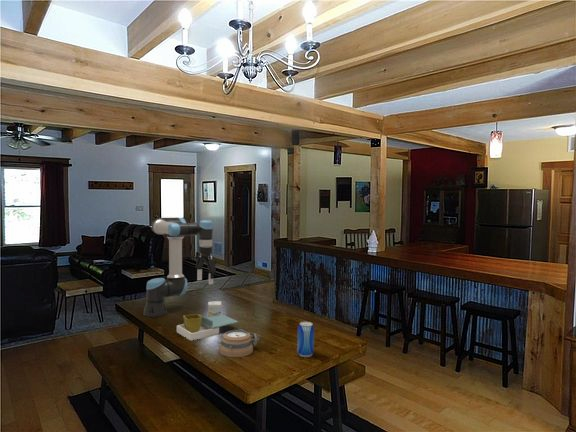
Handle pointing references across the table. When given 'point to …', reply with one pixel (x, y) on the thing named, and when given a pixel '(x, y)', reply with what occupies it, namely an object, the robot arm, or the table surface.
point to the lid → (217, 321)
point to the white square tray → (202, 333)
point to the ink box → (214, 308)
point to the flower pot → (192, 322)
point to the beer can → (305, 339)
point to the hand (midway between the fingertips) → (205, 282)
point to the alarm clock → (237, 343)
